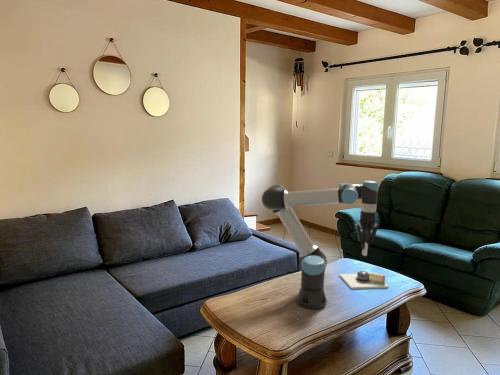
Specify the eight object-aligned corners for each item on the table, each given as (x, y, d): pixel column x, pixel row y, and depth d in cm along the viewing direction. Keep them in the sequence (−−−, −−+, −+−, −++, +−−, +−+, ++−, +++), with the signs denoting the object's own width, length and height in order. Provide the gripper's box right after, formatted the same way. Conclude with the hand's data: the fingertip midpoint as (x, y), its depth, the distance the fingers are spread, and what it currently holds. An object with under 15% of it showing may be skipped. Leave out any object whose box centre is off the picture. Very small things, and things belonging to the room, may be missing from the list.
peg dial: (356, 280, 213) (356, 272, 212) (357, 275, 219) (358, 268, 219) (384, 285, 207) (384, 277, 206) (385, 280, 213) (385, 273, 212)
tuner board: (351, 289, 204) (351, 286, 204) (339, 275, 223) (339, 273, 223) (389, 287, 207) (389, 285, 207) (374, 274, 226) (374, 272, 225)
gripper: (359, 212, 182) (355, 257, 186) (383, 212, 184) (379, 257, 188) (353, 209, 189) (349, 252, 193) (376, 209, 191) (372, 252, 195)
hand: (364, 254), depth 190 cm, fingers closed
